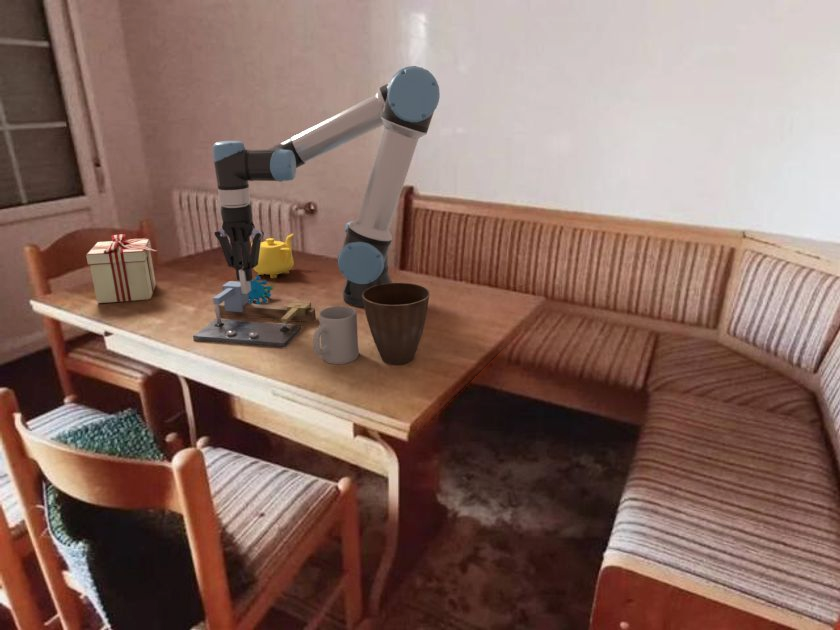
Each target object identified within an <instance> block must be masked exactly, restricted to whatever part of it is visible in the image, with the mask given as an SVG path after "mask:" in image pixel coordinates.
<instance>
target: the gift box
mask: <svg viewBox="0 0 840 630" xmlns="http://www.w3.org/2000/svg"><path fill="white" fill-rule="evenodd" d="M125 238H126V234H125V233H124V234H122V233H121V234H114V235H111V240H110V241H109V240H108V241H107V240H106V241H97V242H96V243H95V244H94V246H93V247H92V248H90V250H89V251H88V252H87V253H86V255H85V257H86V260H87V265H88V266H89V267H90V273H91V278H92V283H93V289H94V293H95V299H96V303H97V304H105V303H106V304H107V303H119V302H131V301H132V302H133V301H144V300H151V298H152V296H153V294H154V291H155V288H156V285H157V284H156V283H157V282H156V277H155V271H154V266H153V259H152V252H158V251H159V249H153V248H152V245H151V240H150V238H149V237H146V238H145V237H144V238H128V239H125Z"/></svg>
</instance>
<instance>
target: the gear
mask: <svg viewBox="0 0 840 630" xmlns="http://www.w3.org/2000/svg"><path fill="white" fill-rule="evenodd" d="M253 276H254V275H252V277H253ZM261 279H262V278H261V276H259V275H258V274H257V275H256V276H255V279H253V280H251V281H250V284H251V291H250V292H249V293H248V298H249V299H250V300H249V303H250V304H253V301H254V300H256V302H255V303H254V304H259V305H262V304H267V302H268V299H269V298H270V297H271V296H272V294H271V291H273V290H274V288H275V286H274V284H271V285H269V286H266V285H267V284H268V281H267V280H266V279H263V280H262V281H260V280H261ZM265 296H266V297H265ZM260 299H262V300H260Z"/></svg>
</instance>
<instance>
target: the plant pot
mask: <svg viewBox="0 0 840 630" xmlns="http://www.w3.org/2000/svg"><path fill="white" fill-rule="evenodd" d="M362 298H363V303H364V307H363V308H364V312H365V316H366V320H367V324H368V327H369V330H370V334H371V337H372V339H373V342H374V344H375V347H376V349H377V351H378V354H379V356H380V359H381V360H382V361H383V362H384V363H386V364H388V365H391V366H392V365H394V366H400V365H402V366H403V365H406V364H409V363H411V362H412V361H413V360H414V358H415V356H416V353H417V351H418V348H419V345H420V342H421V340H422V336H423V332H424V328H425V325H426V320H427V319H426V318H427V313H428V308H429V301H430V300H429V299H430V291H429V290H428V288H426V287H424V286H422V285H419V284H416V283H409V282H392V283H386V284H380V285H376V286H372V287H370V288H368V289H366V290H365V291H364V292H363V293H362Z"/></svg>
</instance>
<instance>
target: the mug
mask: <svg viewBox="0 0 840 630" xmlns="http://www.w3.org/2000/svg"><path fill="white" fill-rule="evenodd" d="M318 319H319V320H318V321H319V326H318V327H317V328H316V329H315V330H314V332H313V342H312V343H313V348H314V352H315V353H316V354H317V355H318V356H321V358H322V360H324V361H325V362H326V363H328V364H333V365H345V364H348V363H351V362H354V361H355V360H357V359H358V357H359V354H360V353H359V352H360V351H359V339H358V338H359V335H358V334H359V333H358V317H357V311H356V309H355V308H353V307H350V306H346V305H345V306H344V305H336V306H330V307H326V308H324V309H322V310H320V311H319V315H318ZM320 345H321V347H320Z"/></svg>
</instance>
